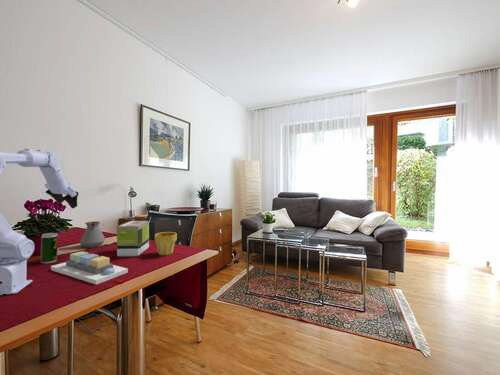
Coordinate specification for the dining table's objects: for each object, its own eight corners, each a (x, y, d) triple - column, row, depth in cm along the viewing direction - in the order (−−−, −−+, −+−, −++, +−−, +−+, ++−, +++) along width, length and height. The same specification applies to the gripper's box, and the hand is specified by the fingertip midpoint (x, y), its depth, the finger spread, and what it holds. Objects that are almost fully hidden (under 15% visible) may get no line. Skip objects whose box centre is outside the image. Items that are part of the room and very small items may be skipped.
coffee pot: (80, 244, 124) (80, 217, 124) (104, 242, 130) (105, 216, 130) (77, 255, 106) (78, 223, 106) (106, 251, 113) (106, 221, 113)
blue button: (98, 262, 89) (98, 255, 89) (86, 266, 85) (86, 258, 85) (91, 261, 90) (91, 253, 90) (79, 264, 86) (79, 256, 86)
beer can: (39, 264, 93) (39, 235, 93) (42, 260, 97) (42, 233, 97) (56, 262, 96) (56, 234, 96) (58, 258, 100) (58, 232, 100)
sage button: (88, 260, 91) (88, 252, 91) (76, 263, 87) (76, 255, 87) (82, 258, 93) (82, 251, 93) (69, 261, 89) (70, 254, 89)
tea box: (130, 247, 121) (130, 220, 121) (149, 247, 122) (149, 220, 122) (116, 256, 106) (116, 225, 106) (138, 256, 107) (138, 225, 107)
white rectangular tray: (127, 272, 87) (127, 263, 87) (95, 284, 76) (96, 274, 76) (83, 260, 99) (84, 253, 99) (50, 269, 88) (50, 261, 88)
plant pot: (158, 258, 105) (159, 237, 105) (151, 252, 113) (151, 233, 113) (179, 254, 112) (180, 234, 112) (171, 249, 120) (171, 231, 120)
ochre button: (109, 265, 86) (109, 257, 86) (97, 269, 82) (97, 261, 82) (102, 263, 88) (102, 256, 88) (90, 267, 84) (90, 259, 84)
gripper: (78, 178, 92) (89, 203, 100) (52, 169, 95) (64, 195, 103) (61, 187, 87) (74, 213, 95) (34, 178, 90) (48, 204, 98)
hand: (68, 204), depth 99 cm, fingers open, 7 cm apart
